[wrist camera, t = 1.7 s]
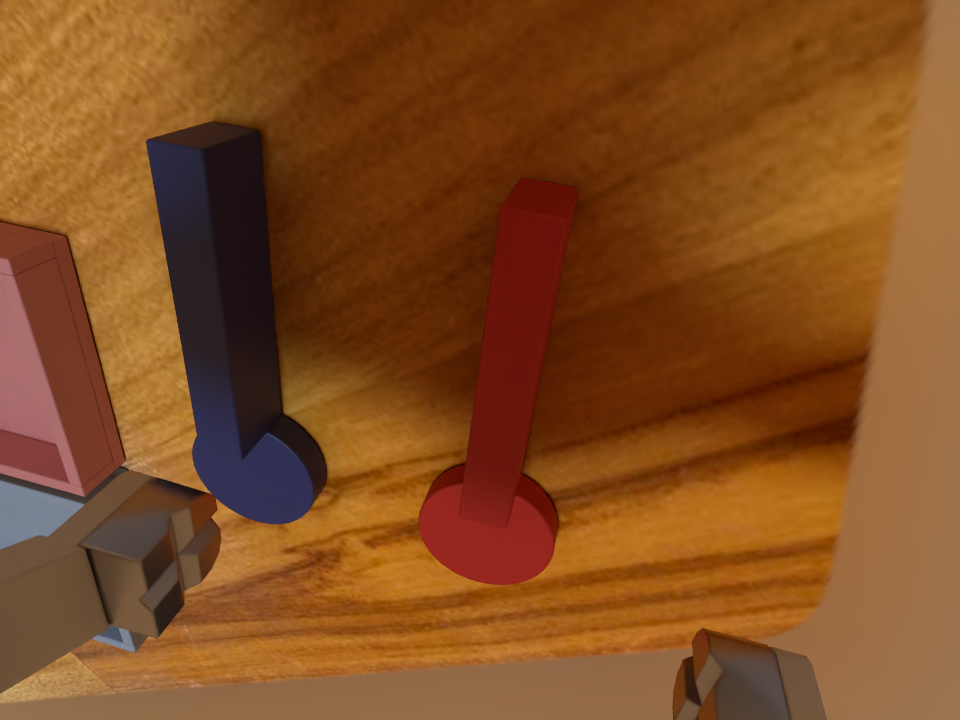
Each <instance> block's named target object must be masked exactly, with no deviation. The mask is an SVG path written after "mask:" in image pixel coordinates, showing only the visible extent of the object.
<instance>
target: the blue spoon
mask: <svg viewBox="0 0 960 720" xmlns="http://www.w3.org/2000/svg"><path fill="white" fill-rule="evenodd" d="M146 144H147V150H148V155H149V161H150V167H151V173H152V178H153V184H154V190H155V196H156V201H157V207H158V213H159V219H160V224H161V230H162V236H163V242H164V247H165V253H166V259H167V265H168V270H169V276H170V282H171V287H172V293H173V299H174V305H175V310H176V316H177V322H178V328H179V333H180V339H181V345H182V351H183V356H184V362H185V368H186V374H187V379H188V385H189V391H190V397H191V402H192V408H193V414H194V420H195V425H196V431H197V437H196V439H195V441H194V445H193V451H192V455H193V462H194V466H195V469H196V471H197V473H198V475H199V477H200V479H201V481H202V482H203V484H204V485H205V486H206V488H207V489H208V490H209V491H210V492H211V493H212V494H213V495H215V497H216V498H217V499H218V500H219V501H220V502H221V503H223V504H224V505H225V506H227V507H228V508H229V509H231V510H233V511H234V512H236V513H238V514H240V515H242V516H244V517H246V518H249V519H252V520H255V521H258V522H262V523H268V524H285V523H290V522H293V521H295V520H298V519H299V518H301V517H302V516H304V515H305V514H306V513H307V512H308V510H309V509H310V508H311V506H312V505H313V503H314V502H315V500H316V499H317V497H318V495H319V494H320V492H321V491H322V489H323V487H324V484H325V480H326V468H325V463H324V460H323V457H322V455H321V452H320V451H319V449H318V447H317V445H316V444H315V443H314V441H313V440H312V439H311V437H310V436H309V435H308V434H307V433H306V432H305V431H304V430H303V429H302V428H301V427H300V426H298V425H297V424H296V423H295V422H293V421H292V420H290V419H289V418H287V417H285V416H283V415H282V413H281V400H280V387H279V374H278V361H277V348H276V335H275V322H274V309H273V296H272V283H271V270H270V256H269V243H268V230H267V217H266V204H265V191H264V178H263V165H262V152H261V139H260V132H259V131H258V130H255V129H249V128H244V127H238V126H232V125H227V124H221V123H216V122H208V123H204V124H201V125H197V126H194V127H190V128H186V129H183V130H179V131H176V132H172V133H168V134H165V135H161V136H157V137H154V138H150V139H147V141H146Z"/></svg>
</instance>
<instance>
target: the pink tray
mask: <svg viewBox="0 0 960 720" xmlns="http://www.w3.org/2000/svg"><path fill="white" fill-rule="evenodd" d="M124 462H125V459H124V455H123V451H122V448H121V444H120V440H119V436H118V432H117V429H116V425H115V421H114V417H113V413H112V410H111V406H110V402H109V398H108V394H107V391H106V387H105V383H104V379H103V376H102V372H101V368H100V364H99V360H98V357H97V353H96V349H95V345H94V341H93V338H92V334H91V330H90V326H89V323H88V319H87V315H86V311H85V307H84V304H83V300H82V296H81V292H80V288H79V285H78V281H77V277H76V273H75V269H74V266H73V262H72V258H71V254H70V251H69V247H68V243H67V239H66V237H65V236H62V235H57V234H53V233H48V232H44V231H39V230H34V229H30V228H25V227H20V226H16V225H11V224H6V223H2V222H0V473H1V474H5V475H9V476H12V477H16V478H19V479H23V480H26V481H30V482H34V483H37V484H41V485H44V486H48V487H51V488H55V489H59V490H62V491H66V492H69V493H73V494H76V495H80V496H83V497H84V496H86V495H87V494H88V493H90V492H91V491H92V490H93V489H94V488H95V487H96V486H98V485H99V484H100V483H101V482H102V481H103V480H104V479H105V478H107V477H108V476H109V475H110V474H111V473H112V472H113V471H114V470H115V469H117V468H118V467H119V466H120V465H121V464H122V463H124Z"/></svg>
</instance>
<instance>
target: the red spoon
mask: <svg viewBox="0 0 960 720" xmlns="http://www.w3.org/2000/svg"><path fill="white" fill-rule="evenodd" d="M577 196H578V189H577V188H576V187H572V186H566V185H560V184H555V183H549V182H544V181H538V180H533V179H527V178H521V179H520V180H519V182H518V183H517V184H516V186H515V187H514V189H513V190H512V192H511V193H510V194H509V196H508V197H507V199H506V200H505V202H504V203H503V205H502V206H501V208H500V213H499V221H498V228H497V235H496V243H495V250H494V257H493V265H492V272H491V280H490V287H489V294H488V302H487V309H486V317H485V324H484V331H483V339H482V346H481V354H480V361H479V368H478V376H477V383H476V391H475V398H474V405H473V413H472V420H471V427H470V435H469V442H468V450H467V457H466V464H465V465H461V466H457V467H454V468H452V469H450V470H448V471H446V472H444V473H443V474H442V475H440V476H439V477H438V478H437V479H436V480H435V481H434V482H433V484H432V485H431V487H430V489H429V491H428V494H427V496H426V498H425V500H424V503H423V505H422V507H421V510H420V513H419V530H420V534H421V537H422V539H423V541H424V543H425V545H426V547H427V548H428V550H429V551H430V552H431V554H432V555H433V556H434V557H435V558H436V559H437V560H438V561H439V562H440V563H442V564H443V565H444V566H446V567H447V568H449V569H450V570H452V571H453V572H455V573H457V574H459V575H461V576H463V577H466V578H468V579H471V580H474V581H477V582H482V583H487V584H494V585H509V584H516V583H520V582H524V581H527V580H529V579H532V578H533V577H535V576H537V575H538V574H539V573H541V572H542V571H543V570H544V569H545V568H546V567H547V565H548V564H549V562H550V561H551V559H552V556H553V553H554V547H555V541H556V534H557V528H558V520H557V515H556V512H555V509H554V507H553V505H552V503H551V501H550V499H549V498H548V496H547V495H546V494H545V492H544V491H543V490H542V489H541V488H540V487H539V486H538V485H536V484H535V483H534V482H533V481H531V480H530V479H528V478H527V477H525V476H524V475H522V474H521V472H522V467H523V462H524V457H525V452H526V447H527V442H528V438H529V433H530V428H531V423H532V418H533V413H534V408H535V403H536V398H537V393H538V388H539V383H540V378H541V373H542V369H543V364H544V359H545V354H546V349H547V344H548V339H549V334H550V329H551V324H552V319H553V314H554V309H555V305H556V300H557V295H558V290H559V285H560V280H561V275H562V270H563V265H564V260H565V255H566V250H567V245H568V240H569V236H570V231H571V226H572V221H573V216H574V211H575V206H576V201H577Z"/></svg>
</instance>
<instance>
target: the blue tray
mask: <svg viewBox="0 0 960 720" xmlns="http://www.w3.org/2000/svg"><path fill="white" fill-rule="evenodd" d="M125 472H127V470H126V469H123V468H119V467H118V468H117V469H115V470H114V471H113V472H112V473H111V474H110V475H109V476H108V477H107V478H105V479H104V480H103V481H102V482H101V483H100V484H99V485H98V486H96V487H95V488H94V489H93V490H92V491H91V492H90V493H88V494H87V495H86V496H84V497H83V496H80V495H76V494H73V493H69V492H66V491H62V490H59V489H55V488H51V487H48V486H44V485H41V484H37V483H34V482H30V481H26V480H23V479H19V478H16V477H12V476H9V475H5V474H1V473H0V549H3V548H5V547H8V546H11V545H14V544H16V543H19V542H22V541H24V540H27V539H30V538H32V537H35V536H38V535H42V536H46V537H48V536H49V535H50V534H52V533H53V532H54V531H55V530H56V529H57V528H59V527H60V526H61V525H62V524H63V523H64V522H65V521H67V520H68V519H69V518H70V517H71V516H72V515H74V514H75V513H76V512H77V511H78V510H79V509H80V508H82V507H83V506H84V505H85V504H86V503H87V502H89V501H90V500H91V499H92V498H93V497H94V496H95V495H97V494H98V493H99V492H100V491H101V490H102V489H104V488H105V487H106V486H107V485H108V484H109V483H110V482H112V481H113V480H114V479H115V478H116V477H117V476H119V475H120V474H122V473H125ZM147 637H148V636H146V635H143V634H139V633H136V632H132V631H129V630H125V629H121V628H118V627H114V626H111V625H109V629H107V630H106V631H104V632H102V633H101V634H99V635H97V636H96V637H94V638H92V639H93V640H96V641H100V642H103V643H106V644H109V645H112V646H115V647H119V648H122V649H125V650H128V651H131V652H134V653H135V652H136V651H137V650H138V649H139V648H140V646H141V645H142V644H143V642H144V641H145V640H146V639H147Z"/></svg>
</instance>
